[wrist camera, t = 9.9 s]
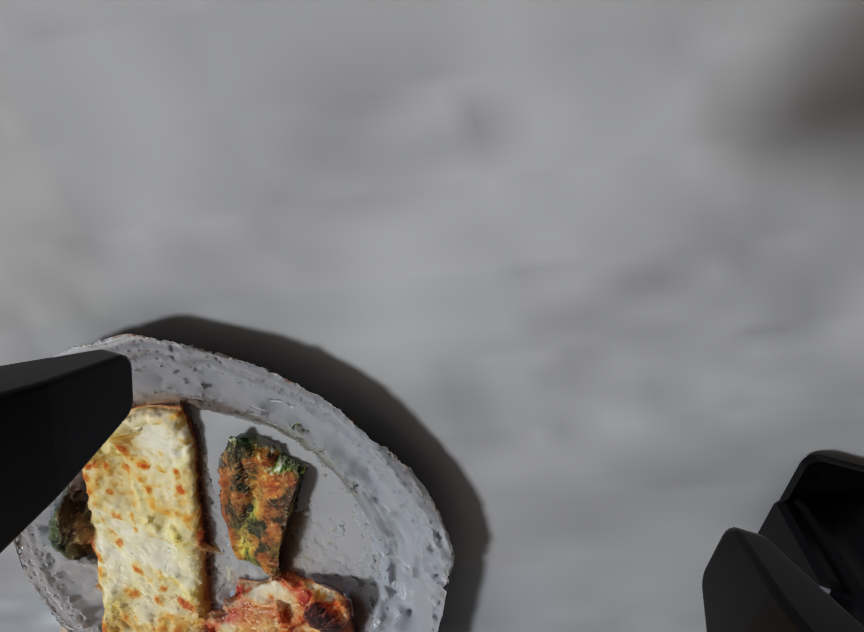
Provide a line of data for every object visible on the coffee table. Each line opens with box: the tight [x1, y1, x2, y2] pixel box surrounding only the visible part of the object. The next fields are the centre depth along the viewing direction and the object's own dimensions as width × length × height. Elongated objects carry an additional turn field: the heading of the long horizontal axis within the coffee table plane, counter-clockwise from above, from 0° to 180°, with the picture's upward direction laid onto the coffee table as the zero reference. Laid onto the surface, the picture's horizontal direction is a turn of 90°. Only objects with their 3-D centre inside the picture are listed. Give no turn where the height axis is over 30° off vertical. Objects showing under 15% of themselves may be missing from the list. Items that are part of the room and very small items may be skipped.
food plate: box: [13, 333, 455, 632], centre depth 27 cm, size 25×23×4 cm
